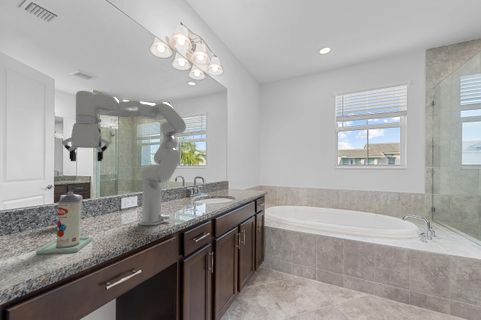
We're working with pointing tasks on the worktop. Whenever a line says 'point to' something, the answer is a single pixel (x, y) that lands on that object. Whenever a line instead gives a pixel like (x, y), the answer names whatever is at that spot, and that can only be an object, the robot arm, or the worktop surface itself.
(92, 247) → the worktop surface
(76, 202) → the aerosol can
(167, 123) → the robot arm
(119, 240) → the worktop surface
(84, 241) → the tray
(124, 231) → the worktop surface
